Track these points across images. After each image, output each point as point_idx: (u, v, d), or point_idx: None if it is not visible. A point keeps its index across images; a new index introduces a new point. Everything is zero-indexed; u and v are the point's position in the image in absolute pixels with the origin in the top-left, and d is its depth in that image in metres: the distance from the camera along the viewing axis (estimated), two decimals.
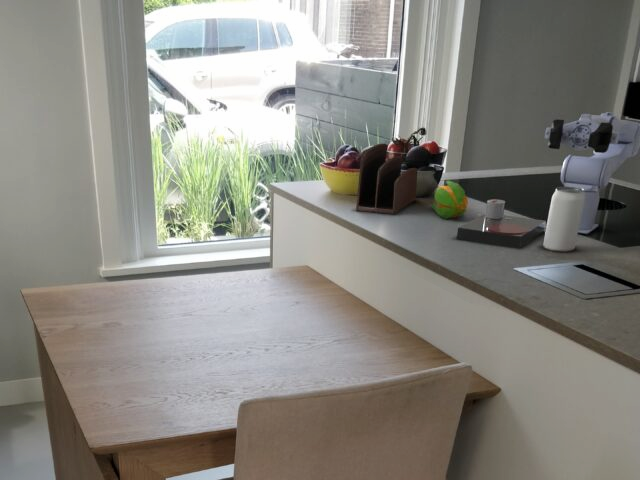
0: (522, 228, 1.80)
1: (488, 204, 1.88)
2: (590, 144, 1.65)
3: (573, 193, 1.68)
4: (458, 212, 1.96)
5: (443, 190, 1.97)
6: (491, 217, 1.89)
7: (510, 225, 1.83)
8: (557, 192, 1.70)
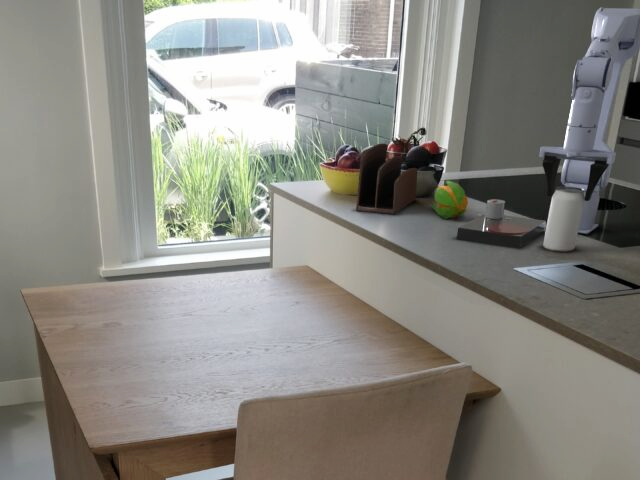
0: (522, 228, 1.80)
1: (488, 204, 1.88)
2: None
3: (573, 193, 1.68)
4: (458, 212, 1.96)
5: (443, 190, 1.97)
6: (491, 217, 1.89)
7: (510, 225, 1.83)
8: (557, 192, 1.70)
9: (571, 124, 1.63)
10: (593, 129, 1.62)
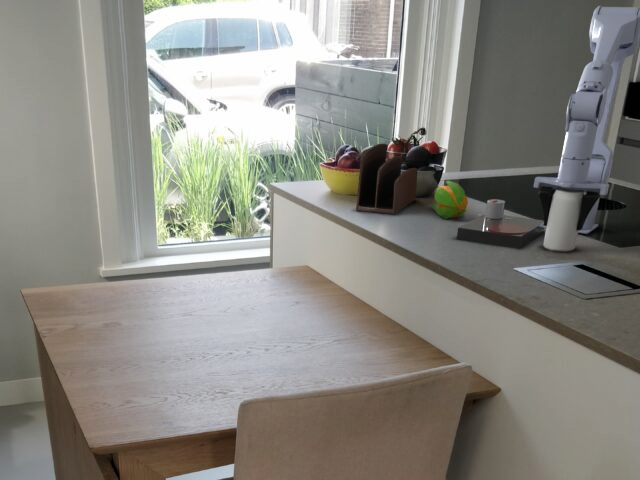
0: (522, 228, 1.80)
1: (488, 204, 1.88)
2: (581, 228, 1.73)
3: (573, 193, 1.68)
4: (458, 212, 1.96)
5: (443, 190, 1.97)
6: (491, 217, 1.89)
7: (510, 225, 1.83)
8: (557, 192, 1.70)
9: (565, 156, 1.66)
10: (587, 162, 1.65)
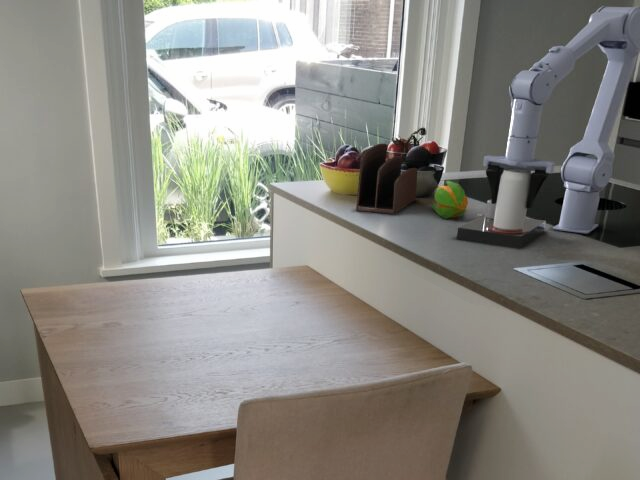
0: (522, 228, 1.80)
1: (488, 204, 1.88)
2: (531, 206, 1.77)
3: (520, 173, 1.72)
4: (458, 212, 1.96)
5: (443, 190, 1.97)
6: (491, 217, 1.89)
7: None
8: (505, 172, 1.74)
9: (509, 134, 1.71)
10: (532, 140, 1.69)
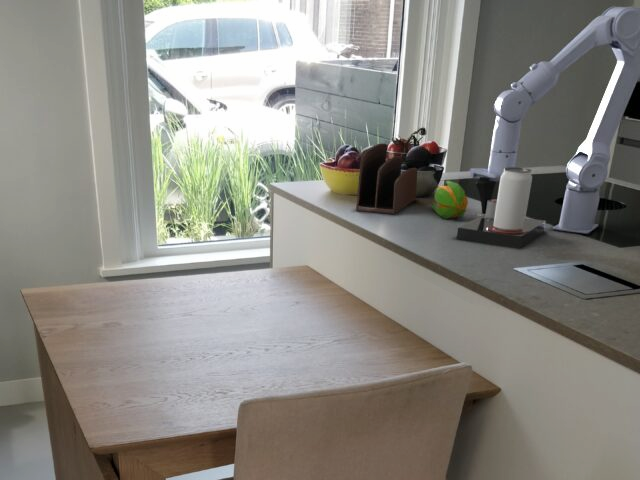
0: (522, 228, 1.80)
1: (488, 204, 1.88)
2: None
3: (520, 173, 1.72)
4: (458, 212, 1.96)
5: (443, 190, 1.97)
6: (491, 217, 1.89)
7: None
8: (505, 172, 1.74)
9: None
10: (511, 155, 1.81)
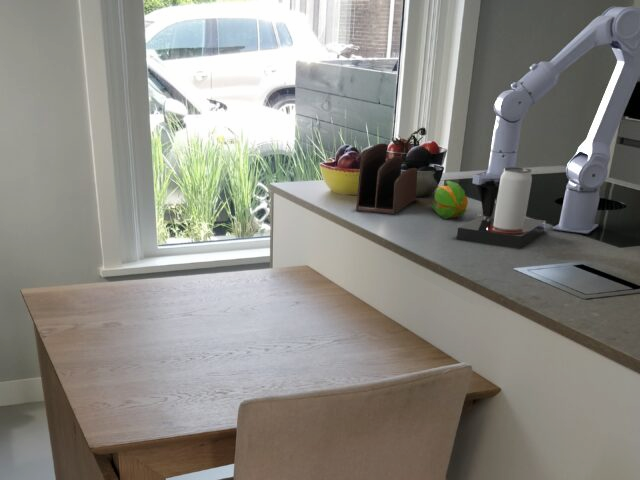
0: (522, 228, 1.80)
1: None
2: None
3: (520, 173, 1.72)
4: (458, 212, 1.96)
5: (443, 190, 1.97)
6: None
7: None
8: (505, 172, 1.74)
9: None
10: None
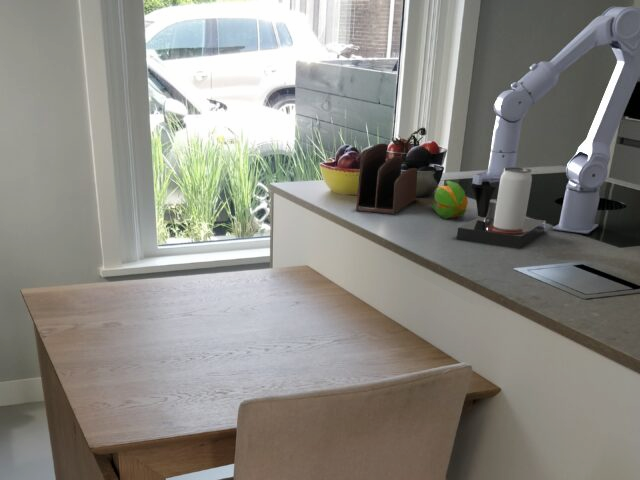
0: (522, 228, 1.80)
1: None
2: None
3: (520, 173, 1.72)
4: (458, 212, 1.96)
5: (443, 190, 1.97)
6: None
7: None
8: (505, 172, 1.74)
9: None
10: None
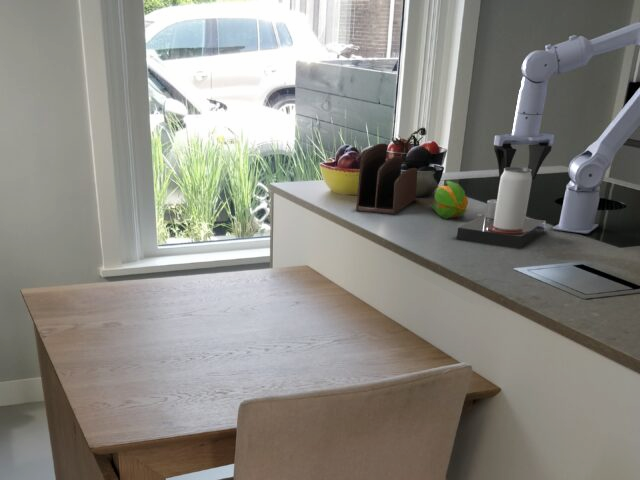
0: (522, 228, 1.80)
1: None
2: None
3: (520, 173, 1.72)
4: (458, 212, 1.96)
5: (443, 190, 1.97)
6: None
7: None
8: (505, 172, 1.74)
9: None
10: None
